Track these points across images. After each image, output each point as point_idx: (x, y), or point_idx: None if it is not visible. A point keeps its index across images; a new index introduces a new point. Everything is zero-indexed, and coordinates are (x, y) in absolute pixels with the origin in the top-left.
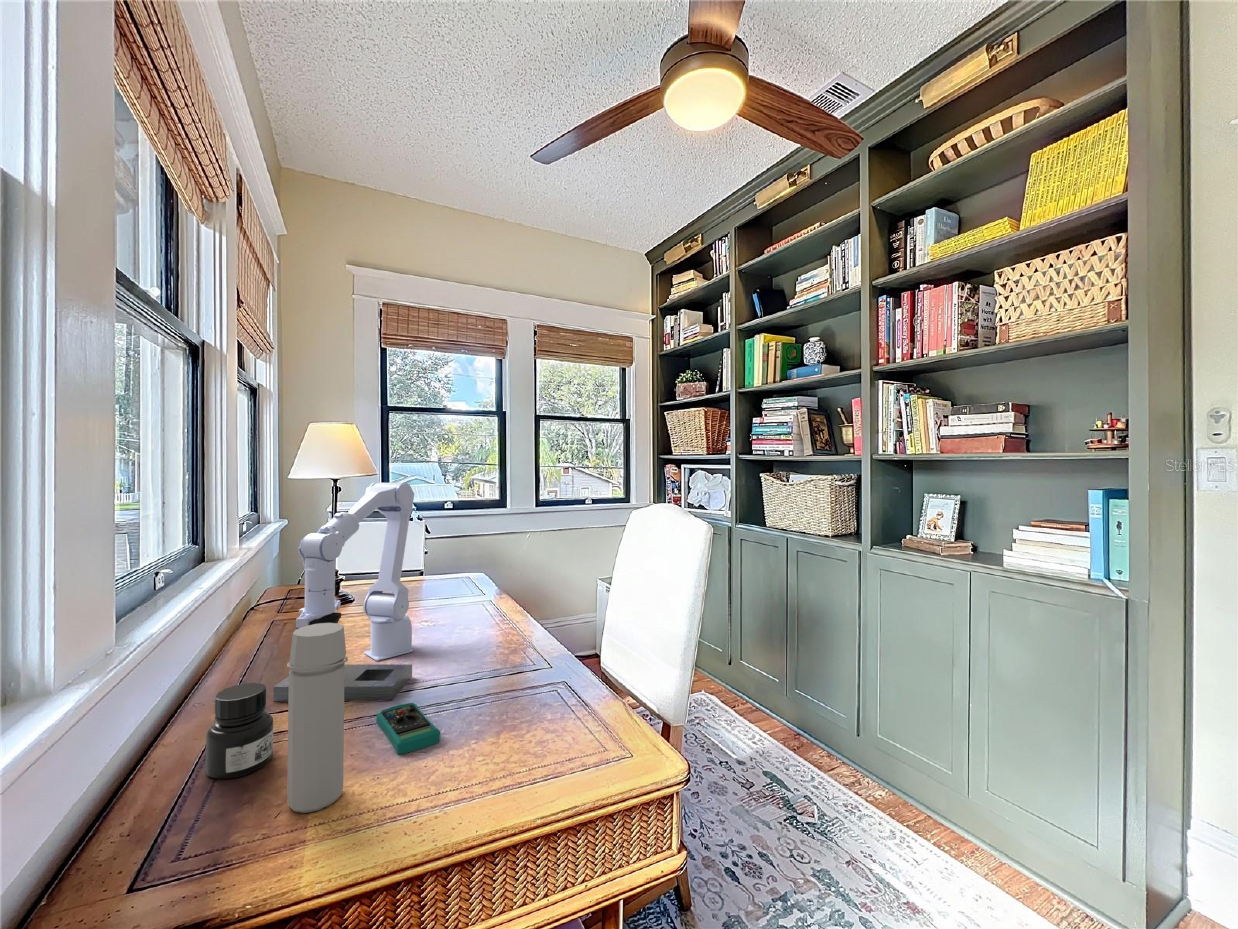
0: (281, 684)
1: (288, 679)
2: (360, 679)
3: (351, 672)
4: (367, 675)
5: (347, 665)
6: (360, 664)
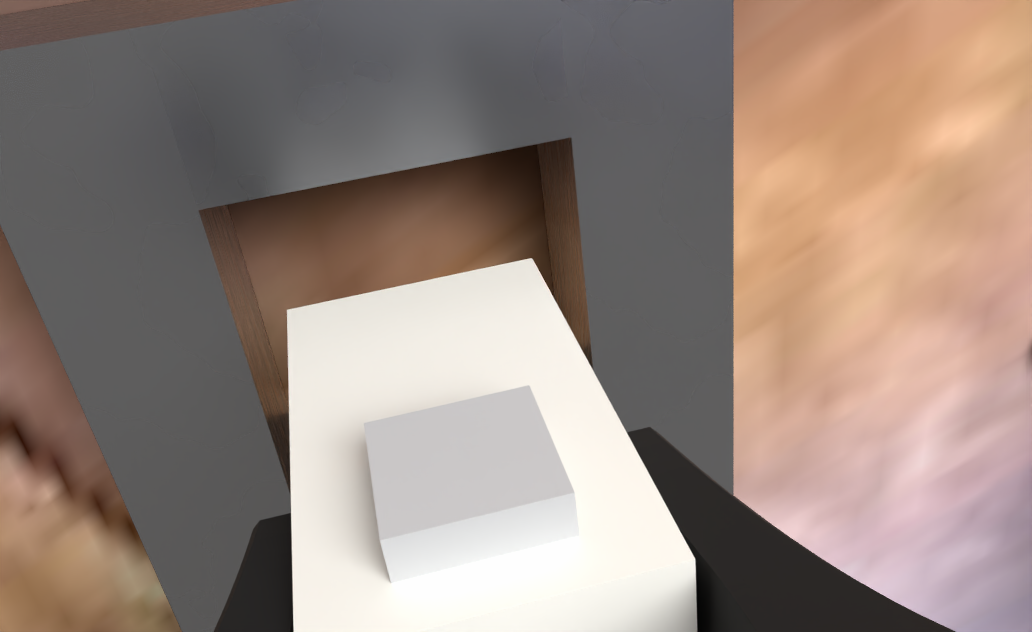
0: (37, 110)
1: (210, 79)
2: None
3: None
4: None
5: (708, 421)
6: None
